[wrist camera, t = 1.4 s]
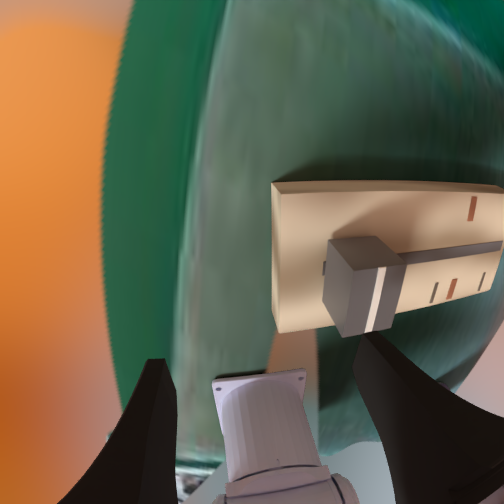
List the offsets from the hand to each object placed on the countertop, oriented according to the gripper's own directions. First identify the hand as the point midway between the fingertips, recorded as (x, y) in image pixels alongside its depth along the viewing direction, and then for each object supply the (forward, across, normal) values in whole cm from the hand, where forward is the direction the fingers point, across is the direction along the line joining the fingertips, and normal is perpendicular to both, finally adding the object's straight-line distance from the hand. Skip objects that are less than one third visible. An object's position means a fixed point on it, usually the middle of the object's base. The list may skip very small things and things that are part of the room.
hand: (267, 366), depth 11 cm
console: (+9, -12, +1) cm, 15 cm away
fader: (+7, -6, +1) cm, 9 cm away
